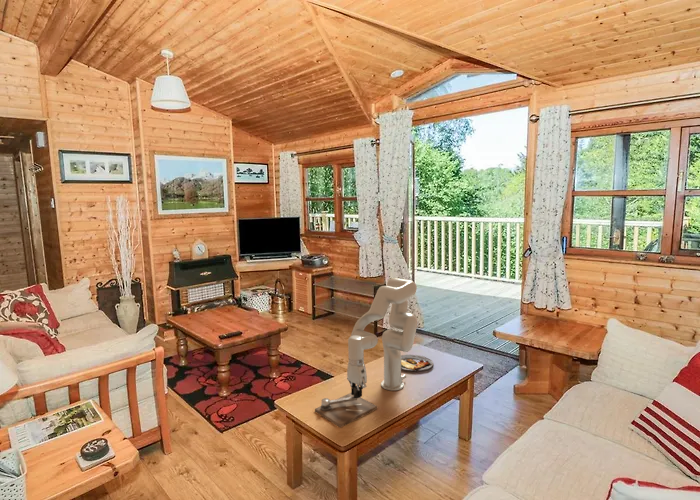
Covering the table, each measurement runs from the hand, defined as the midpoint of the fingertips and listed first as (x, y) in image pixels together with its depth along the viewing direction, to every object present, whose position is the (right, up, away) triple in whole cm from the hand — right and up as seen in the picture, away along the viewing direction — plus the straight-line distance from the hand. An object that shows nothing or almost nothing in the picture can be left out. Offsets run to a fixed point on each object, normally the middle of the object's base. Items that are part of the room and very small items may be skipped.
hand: (356, 395), depth 203 cm
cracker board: (-5, -6, -3) cm, 9 cm away
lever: (-8, -3, -2) cm, 9 cm away
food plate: (+36, +1, +49) cm, 61 cm away
